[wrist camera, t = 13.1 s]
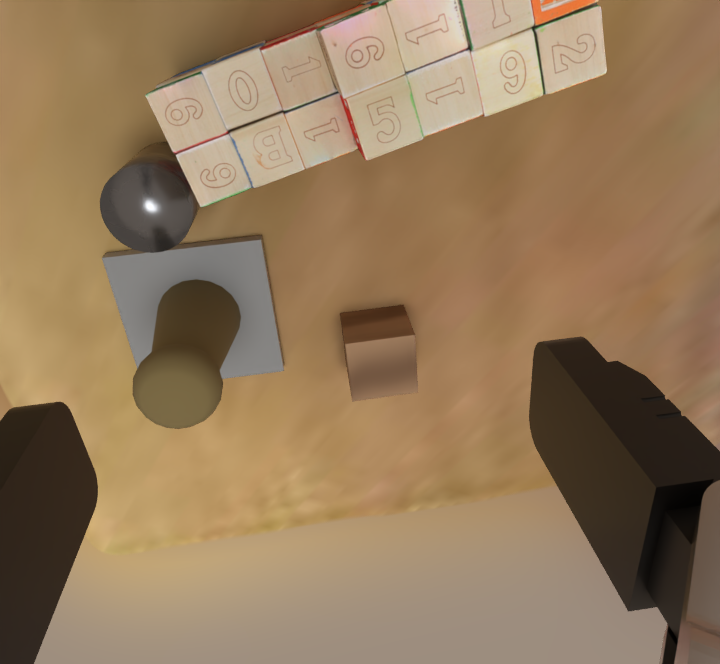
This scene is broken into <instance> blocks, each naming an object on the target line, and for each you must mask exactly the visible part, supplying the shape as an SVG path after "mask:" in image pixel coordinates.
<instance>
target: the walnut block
mask: <svg viewBox="0 0 720 664" xmlns="http://www.w3.org/2000/svg"><path fill="white" fill-rule="evenodd" d="M340 316H341V325H342V333H343V341H344V349H345V357H346V365H347V372H348V378H349V384H350V390H351V396H352V402H353V401H360V400H367V399H374V398H381V397H389V396H396V395H403V394H410V393H417V392H418V381H417V362H416V344H415V333H414V331H413V328H412V326H411V323H410V321H409V318H408V316H407V313H406V311H405V308H404V305H398V306H390V307H382V308H375V309H367V310H359V311H352V312H344V313H340Z"/></svg>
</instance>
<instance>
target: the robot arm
mask: <svg viewBox="0 0 720 664" xmlns="http://www.w3.org/2000/svg"><path fill="white" fill-rule="evenodd" d="M529 421H530V429H531V434H532V438H533V441H534V444H535V446H536V449H537V451H538V452H539V454H540V456H541V458H542V460H543V461H544V463H545V465H546V467H547V468H548V470H549V472H550V474H551V475H552V477H553V479H554V481H555V483H556V484H557V486H558V488H559V490H560V491H561V493H562V495H563V497H564V498H565V500H566V502H567V504H568V505H569V507H570V509H571V511H572V513H573V514H574V516H575V518H576V520H577V521H578V523H579V525H580V527H581V528H582V530H583V532H584V534H585V535H586V537H587V539H588V541H589V543H590V544H591V546H592V548H593V550H594V551H595V553H596V555H597V557H598V558H599V560H600V562H601V564H602V565H603V567H604V569H605V571H606V573H607V574H608V576H609V578H610V580H611V581H612V583H613V585H614V586H615V588H616V590H617V592H618V594H619V595H620V597H621V599H622V601H623V603H624V604H625V606H626V608H627V610H628V611H634V610H640V609H647V608H653V607H658V609H659V610H660V612H661V614H662V615H663V617H664V618H665V620H666V622H667V627H666V630H665V634H664V638H663V644H662V651H661V657H660V663H659V664H720V451H719V450H718V449H717V448H716V447H715V446H714V445H713V444H712V443H711V442H710V441H709V440H708V439H707V438H706V437H705V436H704V435H703V434H702V433H701V432H700V431H699V430H698V429H697V428H696V427H695V426H694V425H693V424H692V423H691V422H690V421H689V420H688V419H687V418H686V417H685V416H681V411H680V410H679V409H678V408H677V407H676V406H675V405H674V404H673V403H672V402H671V401H670V400H669V399H667V400H666V399H665V395H664V394H663V393H662V392H661V391H660V390H659V389H658V388H657V387H656V386H655V385H654V384H653V383H652V382H651V381H650V380H649V379H648V378H647V377H646V376H645V375H643V374H641V373H639V372H637V371H635V370H634V369H632V368H630V367H628V366H626V365H624V364H622V363H621V362H619V361H613V362H607V361H606V360H605V359H604V358H603V357H602V356H601V355H600V353H599V352H598V351H597V350H596V349H595V348H594V347H593V346H592V345H591V344H590V342H589V341H588V340H587V339H585V338H584V337H574V338H567V339H559V340H551V341H543V342H539V343H537V345H536V347H535V350H534V356H533V369H532V383H531V397H530V410H529ZM97 495H98V485H97V477H96V473H95V470H94V467H93V465H92V463H91V460H90V458H89V455H88V453H87V450H86V448H85V445H84V443H83V440H82V438H81V435H80V433H79V430H78V428H77V426H76V423H75V421H74V418H73V416H72V413H71V411H70V409H69V408H68V407H67V405H66V404H64V403H62V402H54V403H46V404H38V405H30V406H22V407H14V408H12V409H10V410H9V411H8V412H7V413H6V414H5V415H4V417H3V418H2V420H1V421H0V664H34V662H35V659H36V656H37V654H38V652H39V649H40V646H41V644H42V641H43V639H44V636H45V634H46V631H47V629H48V626H49V624H50V621H51V619H52V616H53V614H54V611H55V608H56V606H57V603H58V601H59V598H60V596H61V593H62V591H63V588H64V586H65V583H66V581H67V578H68V576H69V573H70V571H71V568H72V566H73V563H74V561H75V558H76V556H77V553H78V550H79V548H80V545H81V543H82V540H83V538H84V535H85V533H86V530H87V528H88V525H89V523H90V520H91V518H92V515H93V513H94V510H95V507H96V503H97Z"/></svg>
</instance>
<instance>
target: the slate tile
mask: <svg viewBox="0 0 720 664" xmlns="http://www.w3.org/2000/svg"><path fill="white" fill-rule="evenodd" d="M102 260H103V263H104V266H105V269H106V272H107V275H108V278H109V281H110V285H111V288H112V291H113V294H114V297H115V300H116V303H117V306H118V309H119V313H120V316H121V319H122V322H123V325H124V328H125V331H126V334H127V337H128V341H129V344H130V347H131V350H132V353H133V356H134V359H135V362H136V365H137V369H138V367H139V365H140V363H141V362H142V361H143V360H144V359H145V358H146V357H147V356H148V355H149V354H150V353H151V352H152V345H153V338H154V331H155V324H156V317H157V310H158V305H159V302H160V300H161V298H162V296H163V294H164V293H165V292H166V291H168V290H169V289H170V288H171V287H172V286H174V285H176V284H178V283H180V282H182V281H187V280H195V279H198V280H205V281H210V282H212V283H215V284H217V285H219V286H221V287H223V288H224V289H225V290H226V291H228V292H229V293H230V294H231V295H232V296H233V298H234V299H235V301H236V303H237V304H238V306H239V310H240V315H241V321H240V328H239V330H238V332H237V334H236V337H235V339H234V341H233V343H232V345H231V347H230V349H229V352H228V354H227V356H226V358H225V360H224V362H223V364H222V367H221V369H220V373H221V377H222V379H224V378H232V377H240V376H248V375H256V374H264V373H272V372H279V371H284V362H283V356H282V350H281V344H280V339H279V333H278V327H277V321H276V316H275V310H274V304H273V298H272V293H271V287H270V281H269V275H268V270H267V264H266V258H265V252H264V247H263V241H262V235H257V236H249V237H240V238H231V239H222V240H214V241H205V242H196V243H188V244H179V245H176V246H175V247H173V248H171V249H169V250H166V251H163V252H157V253H148V252H141V251H138V250H126V251H118V252H109V253H105V255H104V256H103V257H102Z"/></svg>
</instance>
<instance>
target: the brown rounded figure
mask: <svg viewBox="0 0 720 664" xmlns="http://www.w3.org/2000/svg"><path fill="white" fill-rule="evenodd" d="M240 321H241V315H240V310H239V306H238V304H237V303H236V301H235V299H234V298H233V296H232V295H231V294H230V293H229V292H228V291H226V290H225V289H224V288H223V287H221V286H219V285H217V284H215V283H212V282H210V281H205V280H198V279H195V280H187V281H182V282H180V283H178V284H176V285H174V286H172V287H171V288H170V289H169V290H168V291H166V292H165V293H164V294H163V296H162V298H161V300H160V302H159V305H158V310H157V317H156V324H155V331H154V338H153V345H152V352H151V353H150V354H149V355H148V356H147V357H146V358H145V359H144V360H143V361H142V362H141V363H140V365H139V367H138V369H137V371H136V373H135V375H134V378H133V397H134V399H135V402H136V405H137V407H138V408H139V409H140V410H141V412H142V413H143V414H144V415H145V416H146V418H148V419H149V420H151V421H152V422H154V423H155V424H158V425H161V426H163V427H166V428H175V429H181V428H187V427H191V426H194V425H196V424H198V423H200V422H203V421H204V420H206V419H207V418H208V417H209V416H210V415H211V414H213V412H214V411H215V409H216V407H217V405H218V404H219V402H220V400H221V395H222V387H223V381H222V377H221V373H220V369H221V367H222V364H223V362H224V360H225V358H226V356H227V354H228V352H229V349H230V347H231V345H232V343H233V341H234V339H235V337H236V334H237V332H238V330H239V328H240Z"/></svg>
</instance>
